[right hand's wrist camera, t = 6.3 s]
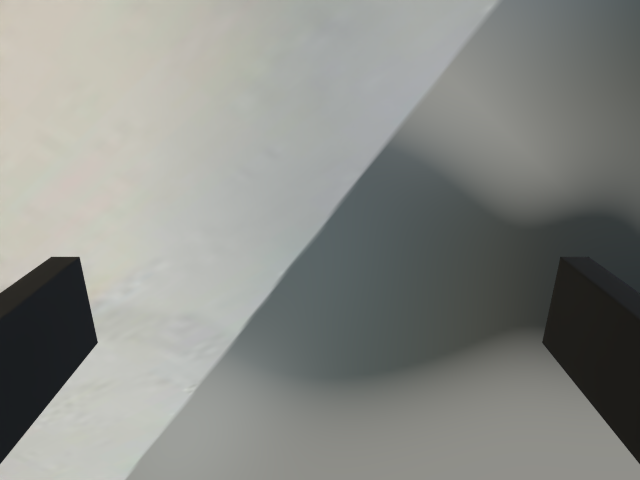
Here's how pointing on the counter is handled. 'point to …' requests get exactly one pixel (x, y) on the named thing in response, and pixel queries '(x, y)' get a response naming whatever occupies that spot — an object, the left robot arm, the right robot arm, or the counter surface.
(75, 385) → the counter surface
